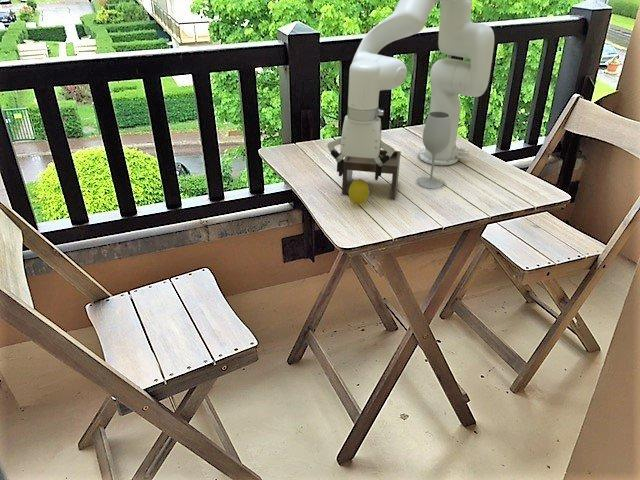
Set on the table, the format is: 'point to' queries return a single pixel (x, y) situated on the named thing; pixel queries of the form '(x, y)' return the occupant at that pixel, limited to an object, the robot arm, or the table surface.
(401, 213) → the table surface
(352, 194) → the lemon
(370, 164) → the shelf
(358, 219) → the table surface
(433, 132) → the wineglass
